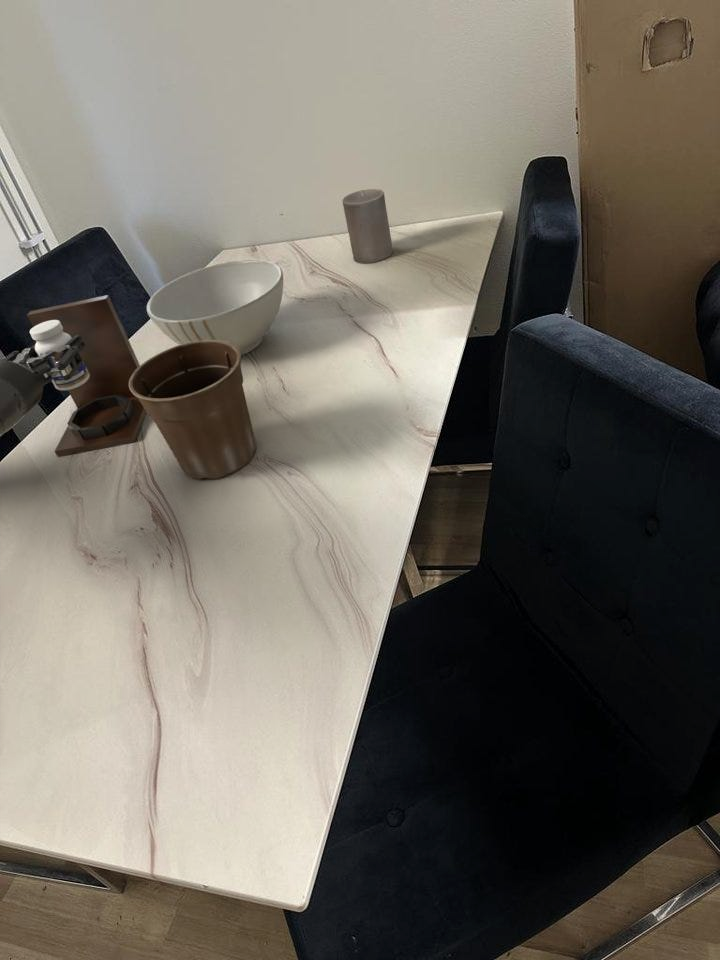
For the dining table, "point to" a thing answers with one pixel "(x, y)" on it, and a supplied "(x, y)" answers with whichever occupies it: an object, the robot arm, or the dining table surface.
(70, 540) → the dining table surface
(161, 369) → the plant pot
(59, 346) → the pill bottle
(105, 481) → the dining table surface
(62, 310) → the stand
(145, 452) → the dining table surface
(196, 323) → the decorative bowl
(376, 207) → the pillar candle
